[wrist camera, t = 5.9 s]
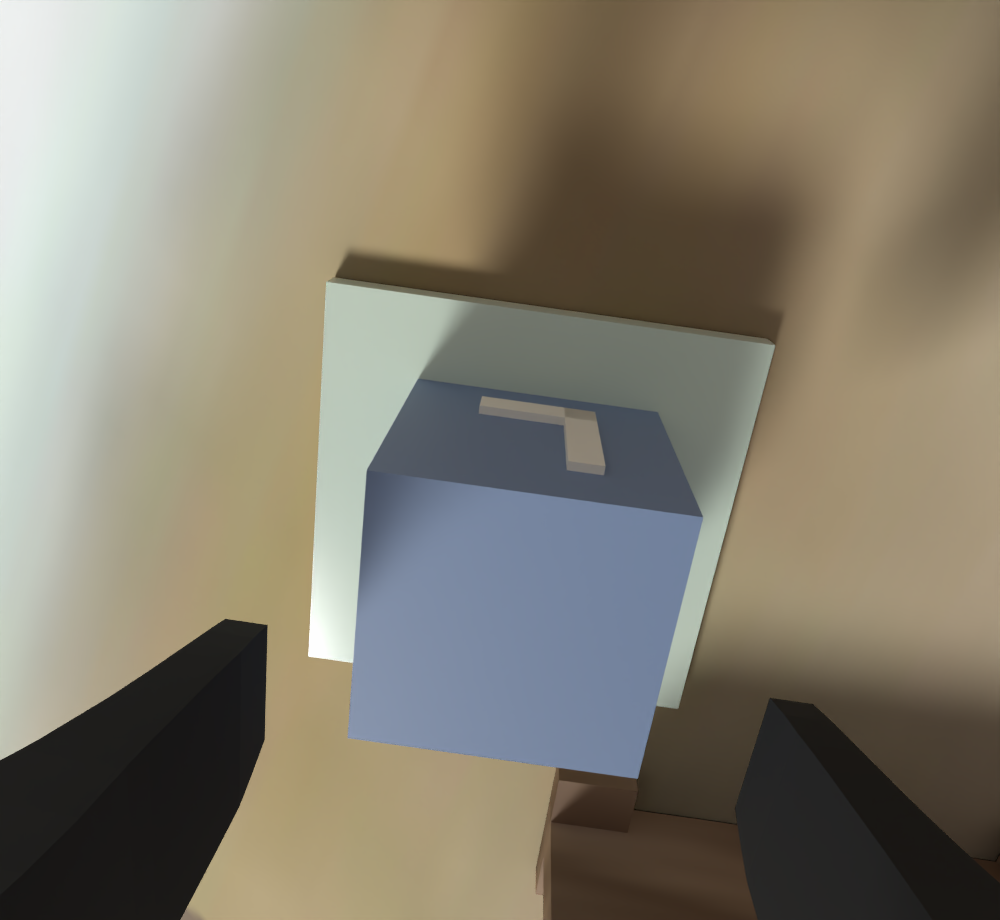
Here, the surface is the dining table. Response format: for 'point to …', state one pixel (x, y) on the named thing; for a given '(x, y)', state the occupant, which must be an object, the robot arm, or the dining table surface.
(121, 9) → the dining table surface
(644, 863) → the brown wooden bar
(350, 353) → the tile
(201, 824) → the robot arm
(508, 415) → the cube
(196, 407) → the dining table surface
